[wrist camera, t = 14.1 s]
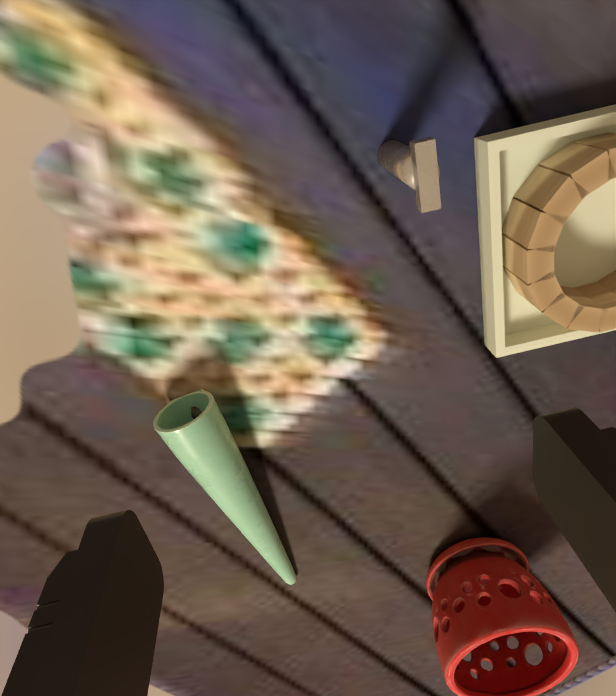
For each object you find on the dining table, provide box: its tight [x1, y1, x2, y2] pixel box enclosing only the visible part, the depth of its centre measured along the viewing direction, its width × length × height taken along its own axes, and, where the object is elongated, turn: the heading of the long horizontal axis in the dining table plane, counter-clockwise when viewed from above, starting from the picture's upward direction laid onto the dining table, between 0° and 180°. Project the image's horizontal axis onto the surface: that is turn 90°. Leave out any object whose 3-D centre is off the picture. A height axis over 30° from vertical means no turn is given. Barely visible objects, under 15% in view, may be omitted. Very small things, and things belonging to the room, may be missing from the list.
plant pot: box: [426, 537, 579, 696], centre depth 56 cm, size 13×13×12 cm
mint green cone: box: [153, 389, 296, 585], centre depth 51 cm, size 5×6×27 cm
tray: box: [474, 104, 616, 358], centre depth 42 cm, size 18×18×2 cm
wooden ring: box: [502, 132, 616, 333], centre depth 40 cm, size 14×14×4 cm
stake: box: [378, 137, 441, 213], centre depth 35 cm, size 4×2×9 cm, turn 12°
